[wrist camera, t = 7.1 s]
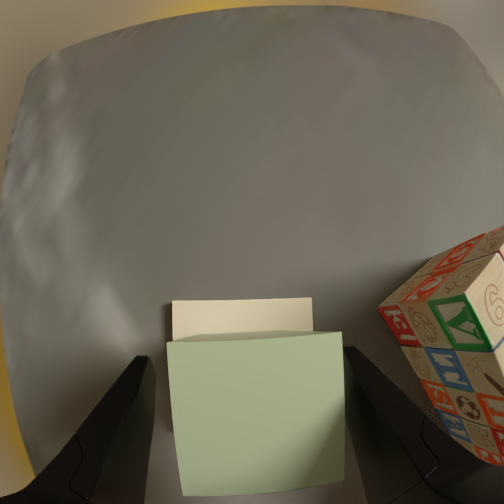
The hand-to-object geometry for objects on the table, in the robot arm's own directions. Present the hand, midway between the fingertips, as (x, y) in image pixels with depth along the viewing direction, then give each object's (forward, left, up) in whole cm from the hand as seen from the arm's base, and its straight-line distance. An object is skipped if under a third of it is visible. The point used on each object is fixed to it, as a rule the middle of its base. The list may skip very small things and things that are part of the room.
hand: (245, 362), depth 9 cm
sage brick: (-2, 0, -8) cm, 8 cm away
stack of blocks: (-6, -16, -9) cm, 20 cm away
